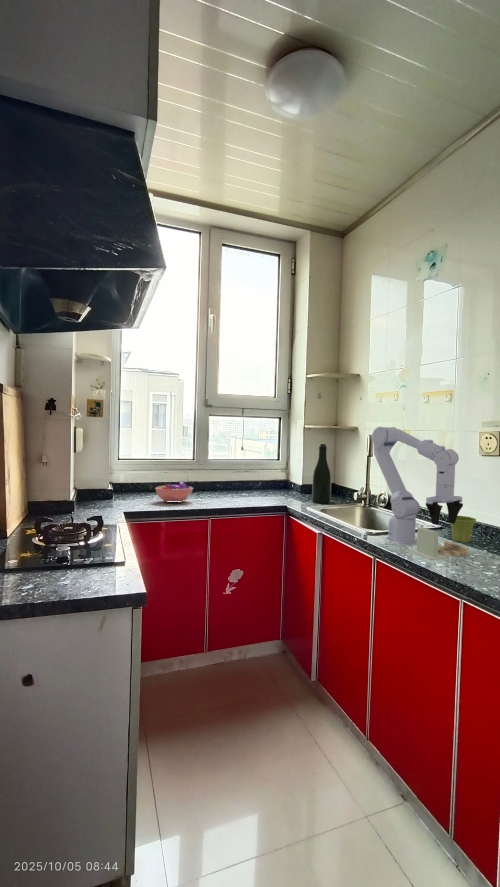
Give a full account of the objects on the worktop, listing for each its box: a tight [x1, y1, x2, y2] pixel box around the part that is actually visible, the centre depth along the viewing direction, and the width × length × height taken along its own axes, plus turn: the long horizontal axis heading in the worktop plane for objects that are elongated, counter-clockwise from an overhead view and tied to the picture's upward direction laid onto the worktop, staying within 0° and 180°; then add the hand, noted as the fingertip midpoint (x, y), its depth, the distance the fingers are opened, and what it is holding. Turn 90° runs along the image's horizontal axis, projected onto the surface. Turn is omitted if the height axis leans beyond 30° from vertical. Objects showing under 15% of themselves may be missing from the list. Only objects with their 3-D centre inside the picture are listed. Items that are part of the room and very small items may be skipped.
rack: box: [438, 541, 469, 557], centre depth 145 cm, size 9×5×2 cm, turn 22°
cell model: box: [154, 481, 194, 502], centre depth 227 cm, size 17×20×11 cm
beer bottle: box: [311, 443, 332, 505], centre depth 238 cm, size 10×10×33 cm
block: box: [416, 527, 440, 557], centre depth 141 cm, size 7×2×8 cm, turn 22°
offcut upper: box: [438, 548, 452, 557], centre depth 143 cm, size 5×3×1 cm, turn 21°
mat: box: [408, 549, 447, 561], centre depth 141 cm, size 9×7×1 cm
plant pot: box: [450, 515, 477, 543], centre depth 161 cm, size 9×9×9 cm
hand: (443, 523), depth 147 cm, fingers open, 7 cm apart
